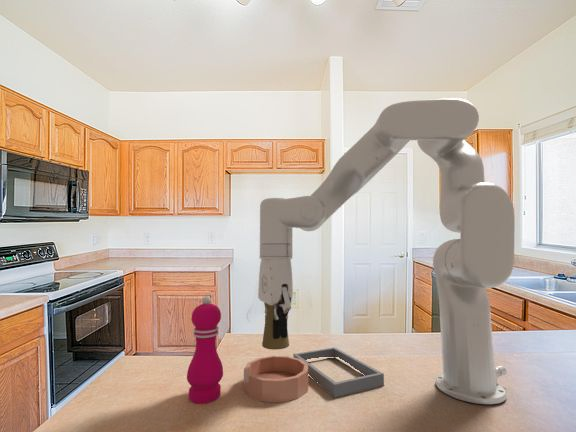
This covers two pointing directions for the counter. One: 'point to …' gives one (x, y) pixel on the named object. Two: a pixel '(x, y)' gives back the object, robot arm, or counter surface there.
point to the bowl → (276, 378)
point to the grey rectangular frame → (345, 387)
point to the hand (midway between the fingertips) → (275, 334)
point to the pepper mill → (205, 355)
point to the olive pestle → (268, 331)
